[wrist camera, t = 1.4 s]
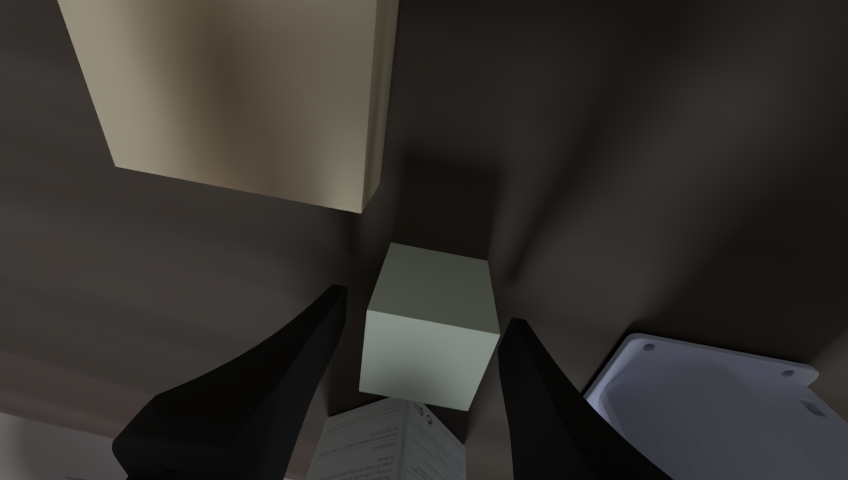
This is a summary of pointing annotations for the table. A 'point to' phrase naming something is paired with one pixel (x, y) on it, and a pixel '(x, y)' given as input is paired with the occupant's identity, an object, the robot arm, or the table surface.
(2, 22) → the table surface
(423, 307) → the sage cube
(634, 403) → the robot arm
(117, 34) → the beech base
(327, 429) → the supplement box
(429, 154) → the table surface
